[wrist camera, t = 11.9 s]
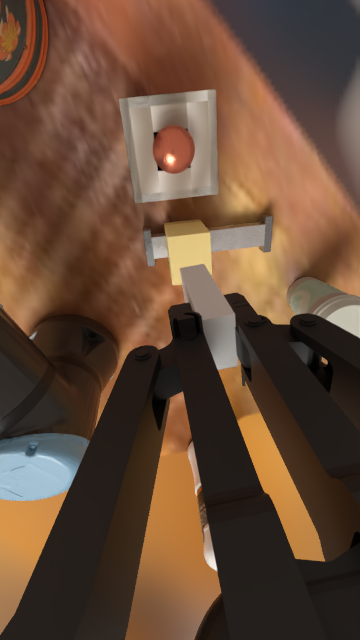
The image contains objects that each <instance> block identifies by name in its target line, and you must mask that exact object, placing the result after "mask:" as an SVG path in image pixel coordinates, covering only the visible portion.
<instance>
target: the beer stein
mask: <svg viewBox="0 0 360 640" xmlns="http://www.w3.org/2000/svg"><path fill="white" fill-rule="evenodd" d="M47 49H48V25H47V16H46V12H45V7H44V4H43V1H42V0H0V105H6V104H10V103H12V102H15V101H17V100H19V99H21V98H22V97H23V96H25V95H26V94H27V93H28V92H29V91H30V90H31V89H32V88H33V87H34V85H35V84H36V83H37V81H38V79H39V78H40V76H41V73H42V71H43V68H44V65H45V61H46V57H47Z"/></svg>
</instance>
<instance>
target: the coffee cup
mask: <svg viewBox="0 0 360 640" xmlns="http://www.w3.org/2000/svg"><path fill="white" fill-rule="evenodd" d="M287 300H288V303H289V304H290V306H291V307H292V309H293V311H294V312H295V314H296V315H298V314H303V313H305V314H306V313H310V314H315V315H318V316H320V317H322V318H324V319H326V320H328V321H330V322H331V323H333V324H335V325H337V326H339V327H341V328H342V329H344V330H346V331H348V332H350V333H352V334H353V335H355V336H357V337H359V338H360V297H358V296H355V295H349V294H347V293H345V292H343V291H341V290H339V289H336V288H334V287H332V286H330V285H328V284H326V283H324V282H322V281H320V280H318V279H316V278H313V277H302V278H300V279H298V280H296V281H295V282H294V283H293V284H292V285H291V286H290V288H289V290H288V292H287Z"/></svg>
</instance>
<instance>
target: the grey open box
mask: <svg viewBox="0 0 360 640" xmlns="http://www.w3.org/2000/svg"><path fill="white" fill-rule="evenodd" d="M119 104H120V110H121V117H122V123H123V129H124V136H125V142H126V148H127V155H128V161H129V167H130V174H131V180H132V186H133V192H134V199H135V203H144V202H153V201H161V200H170V199H179V198H188V197H197V196H206V195H215V194H218V159H217V116H216V89H212V90H202V91H192V92H182V93H172V94H161V95H151V96H141V97H131V98H121V99H119ZM169 125H178V126H181V127H183V128H184V129H187V131H188V132H189V133H190V135H191V137H192V139H193V141H194V146H195V153H194V158H193V161H192V163H191V164H190V168H187V169H186V170H184V171H183V172H181V173H177V174H171V173H167V172H165V171H163V170H162V171H158V168H157V163H156V162H155V159H154V156H153V142H154V133H153V132H159V131H160V130H161V129H163V128H164V127H166V126H169Z"/></svg>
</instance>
